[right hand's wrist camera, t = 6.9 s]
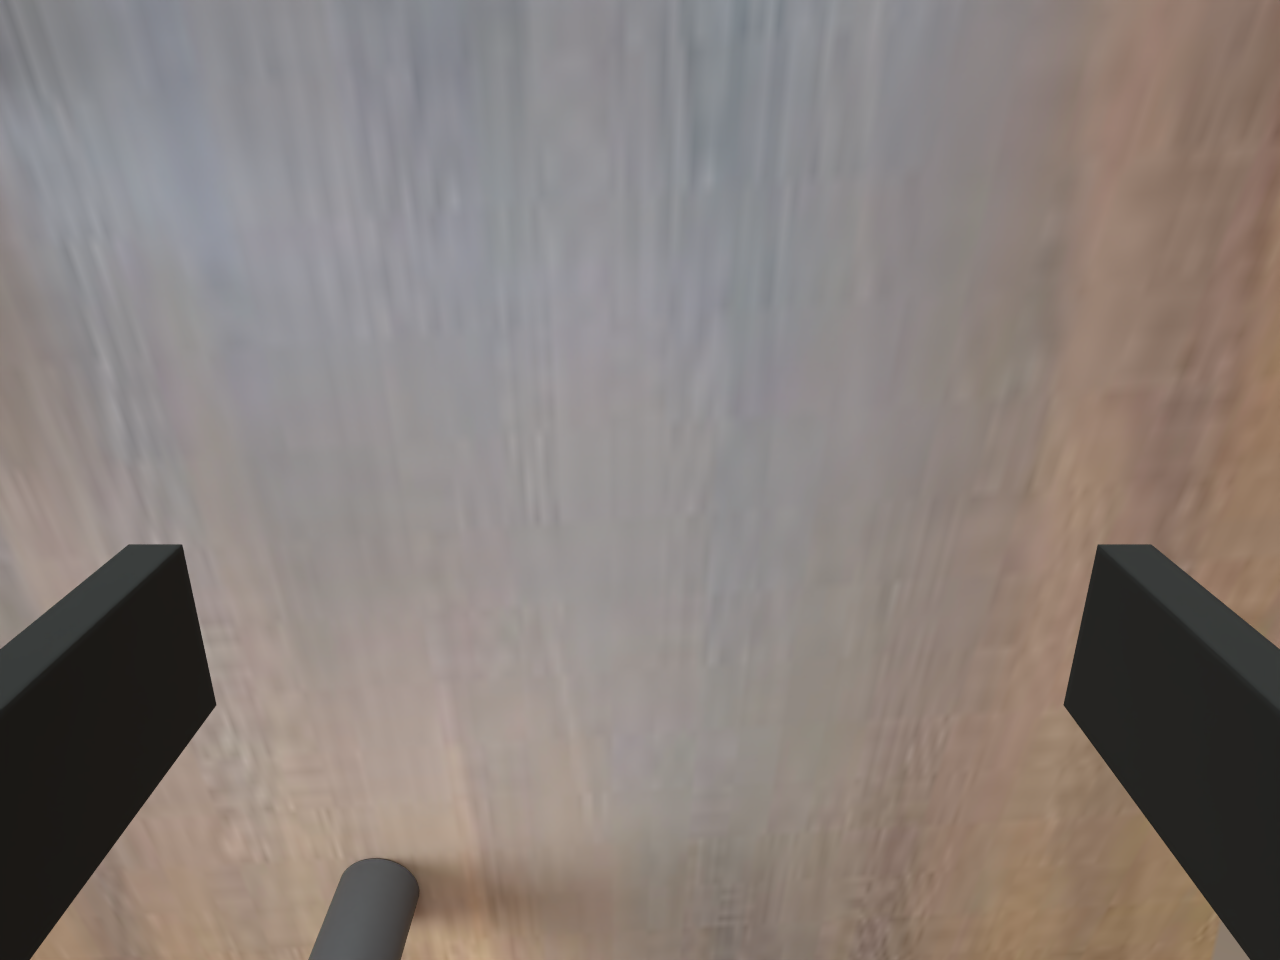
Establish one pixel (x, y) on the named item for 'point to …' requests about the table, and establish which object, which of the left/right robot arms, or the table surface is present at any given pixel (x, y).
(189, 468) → the table surface
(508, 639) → the table surface
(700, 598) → the table surface
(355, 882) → the bottle
